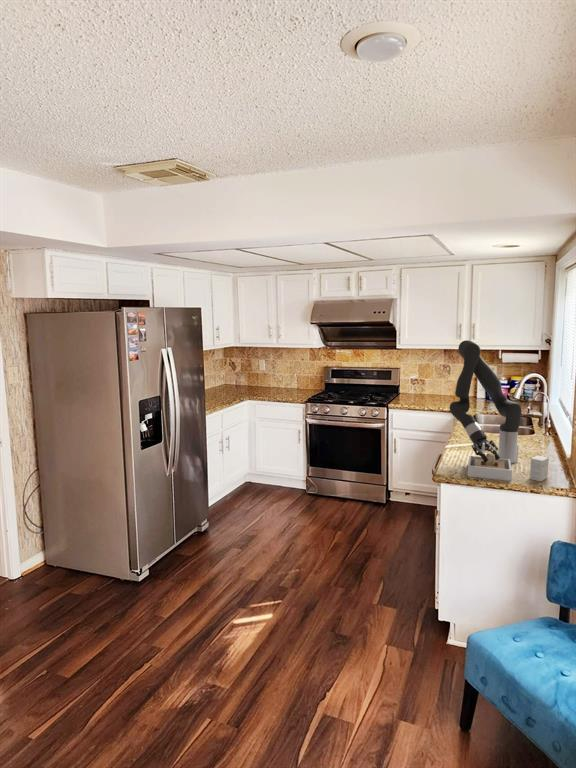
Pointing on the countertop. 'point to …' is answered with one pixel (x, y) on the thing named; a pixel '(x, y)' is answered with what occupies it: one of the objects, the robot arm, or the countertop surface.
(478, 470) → the bin
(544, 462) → the small box
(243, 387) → the countertop surface
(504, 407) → the robot arm
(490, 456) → the peg
